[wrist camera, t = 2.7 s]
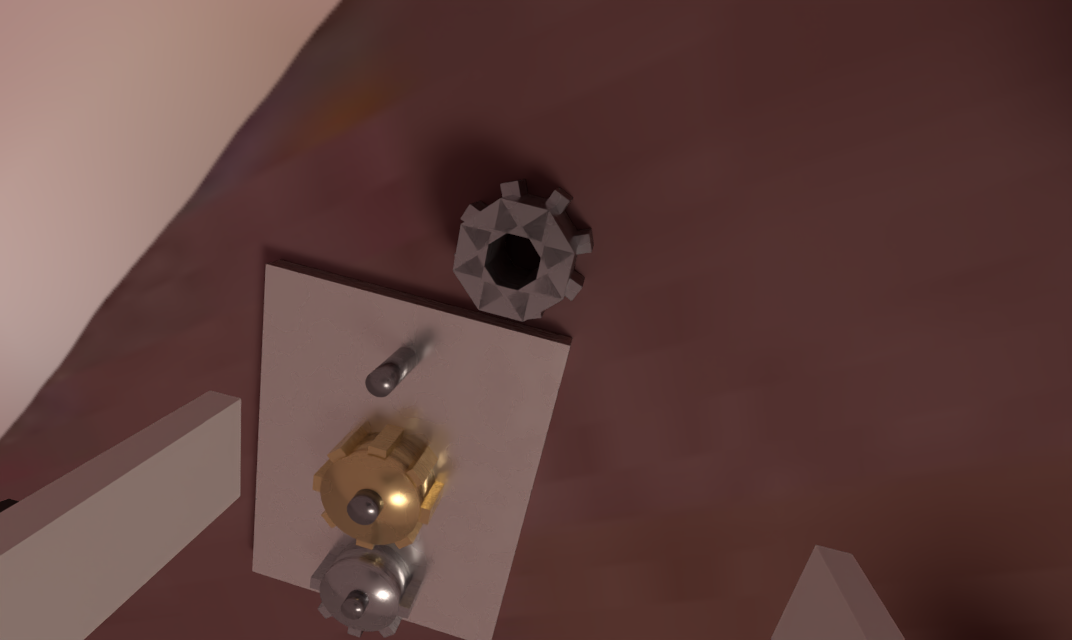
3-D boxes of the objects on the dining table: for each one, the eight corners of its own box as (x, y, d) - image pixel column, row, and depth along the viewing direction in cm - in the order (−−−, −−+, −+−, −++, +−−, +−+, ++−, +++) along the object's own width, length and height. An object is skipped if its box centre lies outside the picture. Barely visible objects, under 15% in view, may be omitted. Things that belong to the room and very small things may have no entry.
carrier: (280, 259, 34) (218, 278, 28) (572, 337, 32) (563, 372, 27) (264, 557, 42) (215, 613, 37) (493, 630, 41) (475, 698, 35)
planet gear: (480, 167, 30) (454, 169, 25) (606, 198, 29) (603, 206, 24) (458, 288, 32) (431, 311, 27) (573, 319, 32) (565, 347, 27)
